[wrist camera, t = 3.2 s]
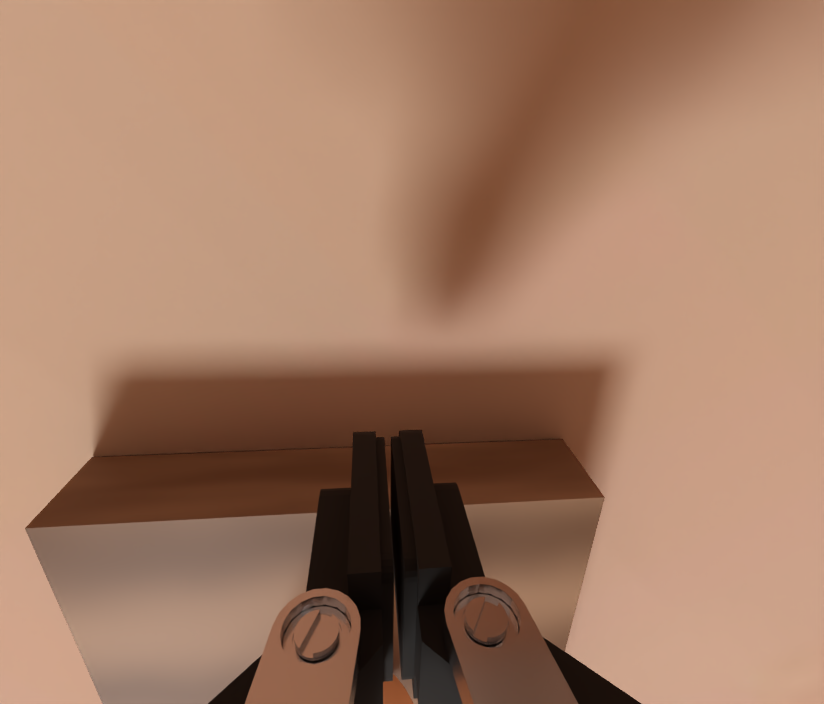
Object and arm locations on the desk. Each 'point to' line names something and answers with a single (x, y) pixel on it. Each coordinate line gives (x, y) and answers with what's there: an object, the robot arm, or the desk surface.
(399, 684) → the ball
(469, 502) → the board
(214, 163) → the desk surface
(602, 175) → the desk surface
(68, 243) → the desk surface
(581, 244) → the desk surface
